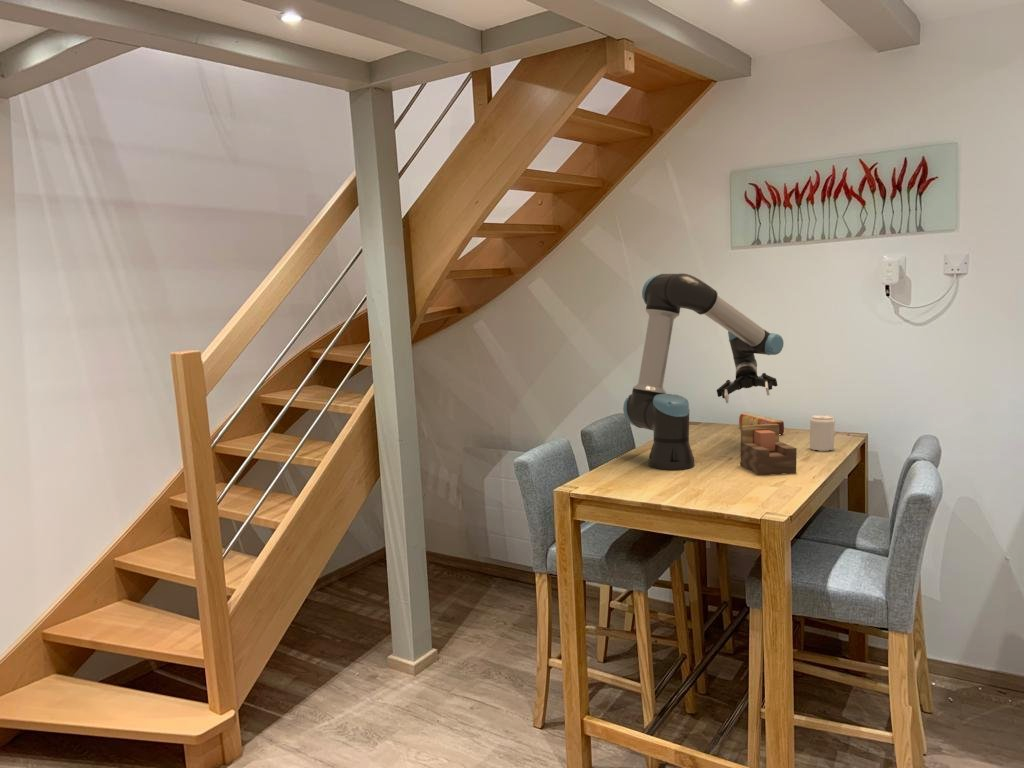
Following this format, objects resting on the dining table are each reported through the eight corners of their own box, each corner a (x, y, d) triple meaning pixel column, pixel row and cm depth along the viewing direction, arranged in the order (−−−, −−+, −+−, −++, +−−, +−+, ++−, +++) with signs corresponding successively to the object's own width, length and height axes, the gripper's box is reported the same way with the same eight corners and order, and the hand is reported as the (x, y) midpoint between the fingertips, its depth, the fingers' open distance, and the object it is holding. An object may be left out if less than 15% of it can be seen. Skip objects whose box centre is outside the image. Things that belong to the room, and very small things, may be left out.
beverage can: (811, 451, 285) (811, 418, 283) (808, 447, 293) (809, 414, 291) (835, 452, 283) (836, 418, 281) (832, 447, 291) (832, 414, 289)
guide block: (740, 465, 267) (740, 425, 265) (775, 463, 268) (776, 423, 267) (758, 475, 253) (759, 433, 251) (796, 473, 255) (796, 431, 253)
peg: (742, 443, 273) (742, 425, 273) (756, 442, 274) (756, 425, 273) (760, 451, 260) (760, 433, 259) (775, 450, 260) (775, 432, 260)
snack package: (785, 435, 316) (786, 418, 315) (772, 437, 313) (772, 420, 313) (750, 427, 335) (750, 411, 335) (737, 428, 333) (737, 412, 332)
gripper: (784, 378, 287) (787, 398, 268) (713, 391, 296) (712, 412, 276) (780, 358, 285) (782, 377, 266) (709, 372, 294) (707, 392, 274)
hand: (746, 395), depth 271 cm, fingers open, 13 cm apart
